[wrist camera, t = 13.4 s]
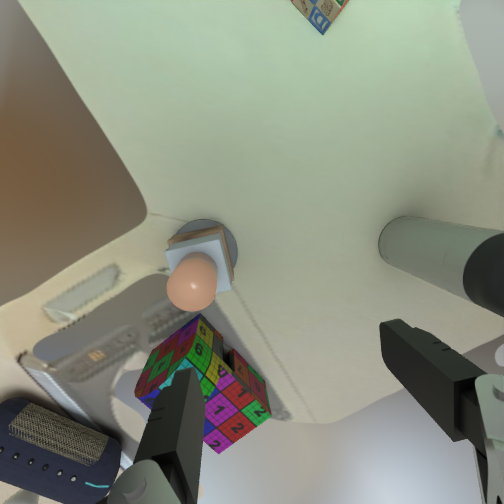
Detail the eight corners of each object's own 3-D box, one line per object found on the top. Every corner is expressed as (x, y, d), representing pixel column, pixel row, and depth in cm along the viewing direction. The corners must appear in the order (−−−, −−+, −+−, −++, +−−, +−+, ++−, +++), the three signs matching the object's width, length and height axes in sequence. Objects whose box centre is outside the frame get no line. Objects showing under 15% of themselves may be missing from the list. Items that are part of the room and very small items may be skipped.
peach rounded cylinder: (212, 248, 33) (210, 260, 27) (221, 285, 34) (221, 305, 28) (172, 256, 33) (160, 271, 27) (182, 294, 34) (174, 316, 28)
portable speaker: (138, 434, 52) (118, 490, 42) (113, 468, 53) (87, 530, 43) (13, 377, 46) (-44, 427, 37) (-12, 417, 48) (-73, 475, 38)
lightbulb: (47, 484, 52) (1, 560, 42) (21, 468, 51) (-32, 542, 40) (69, 468, 52) (28, 539, 41) (44, 450, 50) (-5, 520, 40)
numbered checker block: (130, 367, 48) (91, 437, 35) (200, 312, 47) (189, 363, 33) (216, 443, 54) (213, 530, 41) (281, 397, 53) (300, 470, 39)
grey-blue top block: (220, 232, 38) (219, 239, 33) (231, 277, 39) (231, 289, 35) (172, 243, 37) (164, 251, 32) (185, 287, 39) (179, 302, 34)
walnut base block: (222, 224, 42) (222, 229, 38) (233, 270, 44) (234, 280, 40) (174, 235, 42) (167, 241, 37) (187, 280, 44) (182, 291, 39)
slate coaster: (229, 213, 43) (229, 213, 42) (243, 274, 46) (243, 276, 45) (163, 227, 42) (162, 228, 42) (181, 288, 45) (180, 290, 44)
